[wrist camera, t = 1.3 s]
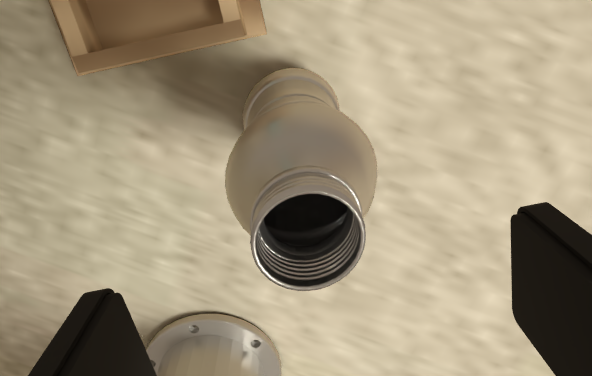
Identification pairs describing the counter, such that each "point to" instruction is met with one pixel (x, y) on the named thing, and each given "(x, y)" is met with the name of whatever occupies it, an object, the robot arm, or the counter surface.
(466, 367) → the counter surface
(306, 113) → the plastic bottle
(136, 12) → the oak caddy
